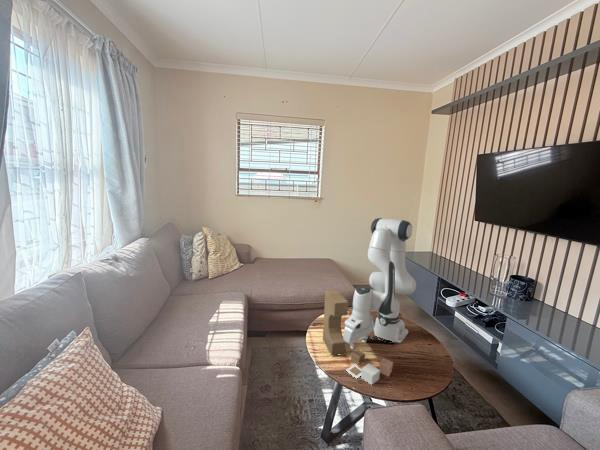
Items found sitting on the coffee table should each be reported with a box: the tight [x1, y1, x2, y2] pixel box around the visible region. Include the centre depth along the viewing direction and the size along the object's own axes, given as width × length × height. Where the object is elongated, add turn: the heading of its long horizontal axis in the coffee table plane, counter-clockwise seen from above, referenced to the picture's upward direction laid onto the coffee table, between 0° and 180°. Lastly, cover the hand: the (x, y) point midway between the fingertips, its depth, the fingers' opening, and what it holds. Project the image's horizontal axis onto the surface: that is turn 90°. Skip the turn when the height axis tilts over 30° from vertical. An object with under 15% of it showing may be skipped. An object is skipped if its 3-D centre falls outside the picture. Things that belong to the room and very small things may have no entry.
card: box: [345, 363, 362, 380], centre depth 132 cm, size 7×7×1 cm
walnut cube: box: [350, 348, 366, 367], centre depth 139 cm, size 5×5×5 cm
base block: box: [360, 362, 381, 386], centre depth 128 cm, size 6×6×5 cm
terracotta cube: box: [378, 357, 394, 377], centre depth 133 cm, size 5×5×5 cm
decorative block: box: [322, 289, 349, 356], centre depth 148 cm, size 15×8×30 cm, turn 14°
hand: (358, 345), depth 137 cm, fingers open, 8 cm apart
